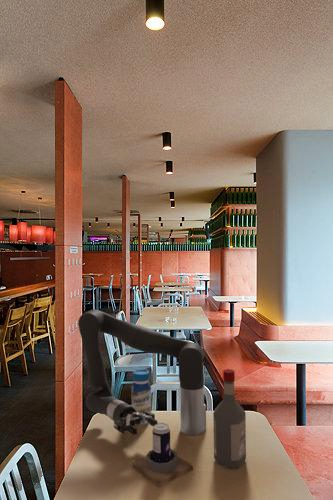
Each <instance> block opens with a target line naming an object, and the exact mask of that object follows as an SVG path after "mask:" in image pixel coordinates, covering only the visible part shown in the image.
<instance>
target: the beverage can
mask: <svg viewBox="0 0 333 500" xmlns="http://www.w3.org/2000/svg"><path fill="white" fill-rule="evenodd" d="M170 449H171V429H170V425H169V424H167V423H164V422H161V423H158V424H156V425H154V427H153V428H152V450H153V461H154V462H157V463H167V462H169V461H171V459H170Z"/></svg>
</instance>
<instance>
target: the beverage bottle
mask: <svg viewBox="0 0 333 500" xmlns="http://www.w3.org/2000/svg"><path fill="white" fill-rule="evenodd" d="M132 379H133V383H132V385H131V388H130V389H131V393H130V397H131V406H132V407H133V408H134V409H135V410H136V412H138V413H143V410H147V411H149V412H151V413H152V391H151V390H152V385H151V383H150V382H149V381H150V371H149V370H148V369H136V370H134V371H132ZM146 421H148V419H146ZM141 422H143V417H141Z"/></svg>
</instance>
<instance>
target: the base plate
mask: <svg viewBox="0 0 333 500" xmlns="http://www.w3.org/2000/svg"><path fill="white" fill-rule="evenodd" d="M171 460H172V459H171ZM152 461H153V460H152ZM131 467H132V468H133V469H134V470H136V471H137V472H138V473H140V474H141V475H142V476H143V477H145V478H146V479H147V480H148V481H150V483H152V484H154V486H156V487H158V488H160V487H162V486H163V485H165V484H167V483H169V482H171V481H173V480H175V479H177V478H179V477H181V476H183V475H186V474H187V473H189V472H191V471H193V470H194V465H193V464H192V463H190V462H188V461H187V460H186V459H184V458H182V457H181V456H179V455H178V465H177V467H176V469H174V470H172V471H170V472H165V473H158V472H153V471H151V470H150V469H148V468H147V464H146V455H145V456H143V457H141V458H139V459H136V460H134V461H131Z"/></svg>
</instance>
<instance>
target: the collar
mask: <svg viewBox="0 0 333 500" xmlns="http://www.w3.org/2000/svg"><path fill="white" fill-rule="evenodd" d="M145 456H146V464H147V468H148V469H150V470H151V471H153V472H158V473H165V472H170V471H172V470H174V469H176V467H177V465H178V456H179V455H178V452H177V451H175V450H173V449H172V448H170V459H172V460H171V461H169V462H167V463H157V462H154V461H152V460H153V449H151V450H149V451H148V452H147V453H146V455H145Z"/></svg>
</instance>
